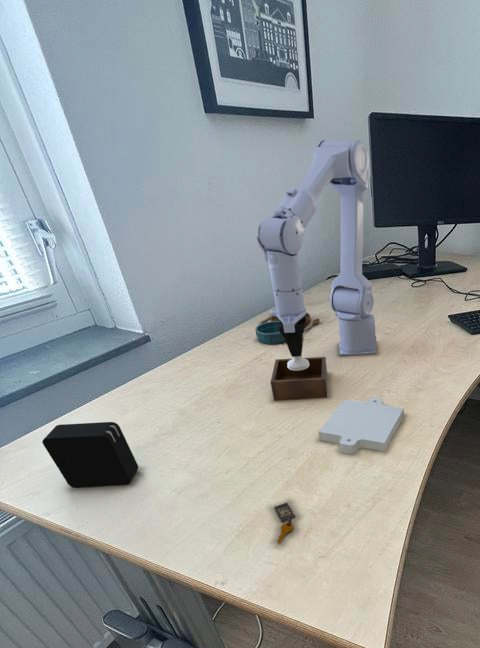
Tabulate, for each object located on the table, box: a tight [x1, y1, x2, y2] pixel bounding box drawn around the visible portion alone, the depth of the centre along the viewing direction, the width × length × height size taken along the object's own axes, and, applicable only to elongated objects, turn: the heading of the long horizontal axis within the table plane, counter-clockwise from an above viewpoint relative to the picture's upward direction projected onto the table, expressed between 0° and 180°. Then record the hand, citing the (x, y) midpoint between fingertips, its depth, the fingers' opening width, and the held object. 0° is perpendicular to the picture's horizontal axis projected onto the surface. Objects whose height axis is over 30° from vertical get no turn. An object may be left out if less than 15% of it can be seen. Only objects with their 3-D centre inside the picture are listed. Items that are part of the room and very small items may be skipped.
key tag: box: [273, 502, 296, 544], centre depth 65 cm, size 8×3×1 cm, turn 15°
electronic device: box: [41, 421, 139, 489], centre depth 71 cm, size 4×10×10 cm, turn 95°
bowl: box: [254, 321, 286, 345], centre depth 122 cm, size 10×10×3 cm
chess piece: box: [287, 355, 310, 371], centre depth 93 cm, size 5×5×10 cm
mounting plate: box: [318, 397, 405, 455], centre depth 85 cm, size 18×13×2 cm
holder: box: [270, 356, 328, 402], centre depth 98 cm, size 12×12×4 cm
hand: (297, 353), depth 94 cm, fingers closed on chess piece
